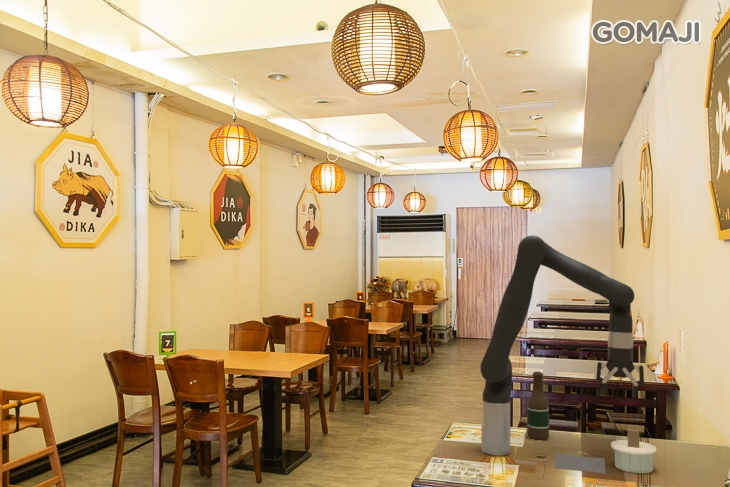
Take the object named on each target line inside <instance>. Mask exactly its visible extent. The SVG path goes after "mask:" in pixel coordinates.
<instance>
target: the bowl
mask: <svg viewBox="0 0 730 487" xmlns="http://www.w3.org/2000/svg"><path fill="white" fill-rule="evenodd" d="M614 466H615V468H617V469H618V470H621V471H623V472H627V473H633V474H647V473H648V474H649V473H651V472H653V471H654V454H653V455H646V456H640V455H630V454H625V453H621V452H618V451H615V450H614Z"/></svg>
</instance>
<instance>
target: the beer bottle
mask: <svg viewBox="0 0 730 487" xmlns="http://www.w3.org/2000/svg"><path fill="white" fill-rule="evenodd" d="M532 377H533V379H532V380H533V381H532V392H531V395H530V397H529V398H528V400H527V406H526V419H527V421H526V422H527V423H526V425H527V426H526V429H527V430H526V431H527V432H526V433H527V434H526V435H527V438H528V437H529V438H528V439H530V440H531V439H534V440H533V441H538V440H544V441H547V440H549V438H550V404H549V401H548V400H549V399H548V398H547V397H546V396H545V393H544V392H545V391H544V380H543V377H544V373H543V372H541V371H533V373H532Z"/></svg>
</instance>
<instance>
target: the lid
mask: <svg viewBox="0 0 730 487" xmlns="http://www.w3.org/2000/svg"><path fill="white" fill-rule="evenodd" d="M610 445H611V446H610V447H611V449H613V451H614V452H615V451H618V452H621V453H625V454H630V455H640V456H646V455H653V456H654V455H655V454H656V453H657V447H656V446H655V445H653V444H651V443H648V442H646V441H645V442H644V441H640V429H639V428H631V427H630V428H627V439H619V440H618V439H617V440H614V441H612V442H611V443H610Z"/></svg>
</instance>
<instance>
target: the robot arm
mask: <svg viewBox="0 0 730 487" xmlns="http://www.w3.org/2000/svg"><path fill="white" fill-rule="evenodd" d="M517 246H518V247H517V254H516V260H515V263H514V268H513V273H512V275H511V277H510V280H509V282H508V284H507V287H506V289H505V290H504V293H503V296H502V298H501V301H500V305H499V308H498V312H497V315H496V319H495V323H494V327H493V329H492V335H491V338H490V341H489V343H488V346H487V348H486V351H485V353H484V356H483V358H482V360H481V362H480V367H479V369H480V374H481V376H482V378H483V379H484V380H485V384H484V389H483V391H482V423H481V453H484V454H488V455H491V456H506V455H507V456H508V455H510V453H511V395H512V390H513V389H512V388H513V366H512V361H511V359H510V354H511V350H512V347H513V345H514V343H515V340H517V337H518V335H519V334H520V332H521V330H522V328H523V326H524V324H525V321H526V318H527V315H528V312H529V308H530V305H531V301H532V297H533V291H534V284H535V280H536V278H537V275H538V272H539V270H540V267H541V266H542V267H545V268H549V270H550V269H551V270H553V271H554V272H555V273H557V274H560V275H561V276H563V277H565V278H566V279H568V280H569V281H571V282H572V283H575V284H576V285H578V286H580V287H581V288H583V289H585V290H586V291H587V290H588V291H590V292H591V293H594V294H597V295H599V296H600V297H602V298H604V299H606V300H608V311H609V320H608V324H609V325H608V328H609V329H608V338H607V362H602V361H597V366H596V381H597V382H600V383H601V393H602V394H604V396H607V393H608V390H607V386H608V385H607V382H608V381H609V380H610V379H611V378H612V377H614V378H622V379H627V378H628V379H629V381H630V382H631V383H632V398H633V399H636V397H638V395H639V394H638V391H639V390H638V388H639V386H643V385H645V373H644V372H645V371H644V366H643V364H639V365H634V363H633V362H634V360H633V359H634V336H633V322H634V321H633V316H632V313H631V310H632V308H631V307H632V306H631V304H632V303H633V302H634V300H635V292H634V290H633V288H632V287H631V286H630V285H627V284H625V283H623V282H621V281H618V280H617V279H615V278H611V277H610V276H608V275H606V274H605V273H604V272H601V271H599V270H597V269H596V268H594V267H591V266H589V265H587V264H584V263H583V262H581V261H578V260H576V259H574V258H572V257H570V256H567V255H565V254H563V253H562V252H560V251H558V250H556V249H555V248H553V247H552V246H550V245H549V244H548V243H546V242H545V241H544V240H543V239H542V238H541V237H539V235H538V236H537V235H527V236H525V237H524V238H522V239H521V240H520V242H519V243H518V245H517ZM605 367H606V369H607V370H608V372H607V373H606V374H605V376H604V377H602V376H601V374H602V370H604V369H605ZM634 370H636V372H637V373H638V375H639V376H638V377H639V380H636V378H635V377H634V376H633V374H632V372H633V371H634Z"/></svg>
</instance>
